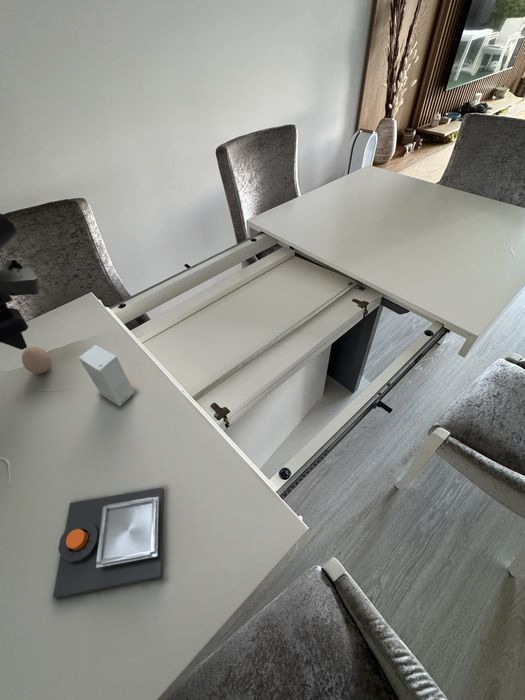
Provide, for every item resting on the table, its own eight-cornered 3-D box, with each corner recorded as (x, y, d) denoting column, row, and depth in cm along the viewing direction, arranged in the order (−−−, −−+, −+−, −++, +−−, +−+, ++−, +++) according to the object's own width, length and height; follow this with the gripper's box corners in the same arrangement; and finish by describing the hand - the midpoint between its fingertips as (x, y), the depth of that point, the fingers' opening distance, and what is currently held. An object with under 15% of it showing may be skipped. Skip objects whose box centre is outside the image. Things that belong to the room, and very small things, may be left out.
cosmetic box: (135, 392, 73) (117, 356, 64) (120, 407, 71) (99, 371, 62) (115, 380, 75) (95, 343, 66) (100, 394, 73) (76, 358, 64)
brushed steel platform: (96, 568, 50) (93, 567, 49) (104, 506, 55) (101, 504, 55) (157, 556, 51) (155, 555, 50) (159, 497, 56) (157, 494, 55)
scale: (57, 598, 50) (47, 596, 48) (73, 505, 58) (65, 499, 56) (162, 577, 52) (157, 574, 49) (163, 490, 60) (159, 483, 58)
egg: (61, 366, 78) (47, 346, 73) (41, 382, 75) (24, 362, 70) (47, 357, 80) (32, 337, 74) (26, 372, 77) (9, 352, 72)
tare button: (68, 552, 52) (63, 549, 50) (71, 533, 53) (67, 530, 52) (86, 548, 52) (82, 546, 51) (89, 530, 54) (85, 527, 52)
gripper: (35, 278, 56) (75, 343, 68) (4, 231, 65) (44, 295, 77) (-43, 309, 51) (14, 372, 63) (-64, 253, 61) (-11, 317, 72)
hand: (18, 335), depth 69 cm, fingers open, 8 cm apart
